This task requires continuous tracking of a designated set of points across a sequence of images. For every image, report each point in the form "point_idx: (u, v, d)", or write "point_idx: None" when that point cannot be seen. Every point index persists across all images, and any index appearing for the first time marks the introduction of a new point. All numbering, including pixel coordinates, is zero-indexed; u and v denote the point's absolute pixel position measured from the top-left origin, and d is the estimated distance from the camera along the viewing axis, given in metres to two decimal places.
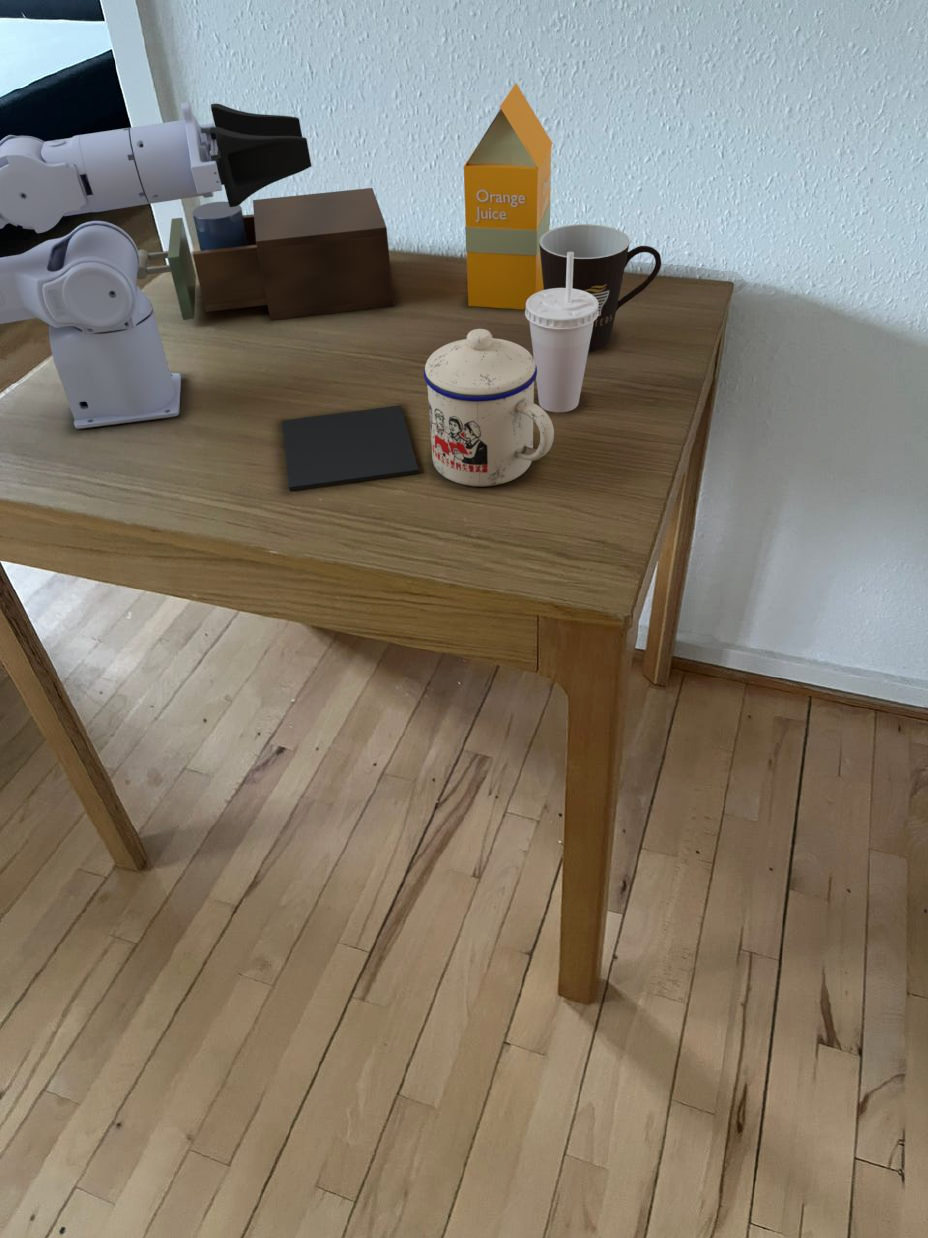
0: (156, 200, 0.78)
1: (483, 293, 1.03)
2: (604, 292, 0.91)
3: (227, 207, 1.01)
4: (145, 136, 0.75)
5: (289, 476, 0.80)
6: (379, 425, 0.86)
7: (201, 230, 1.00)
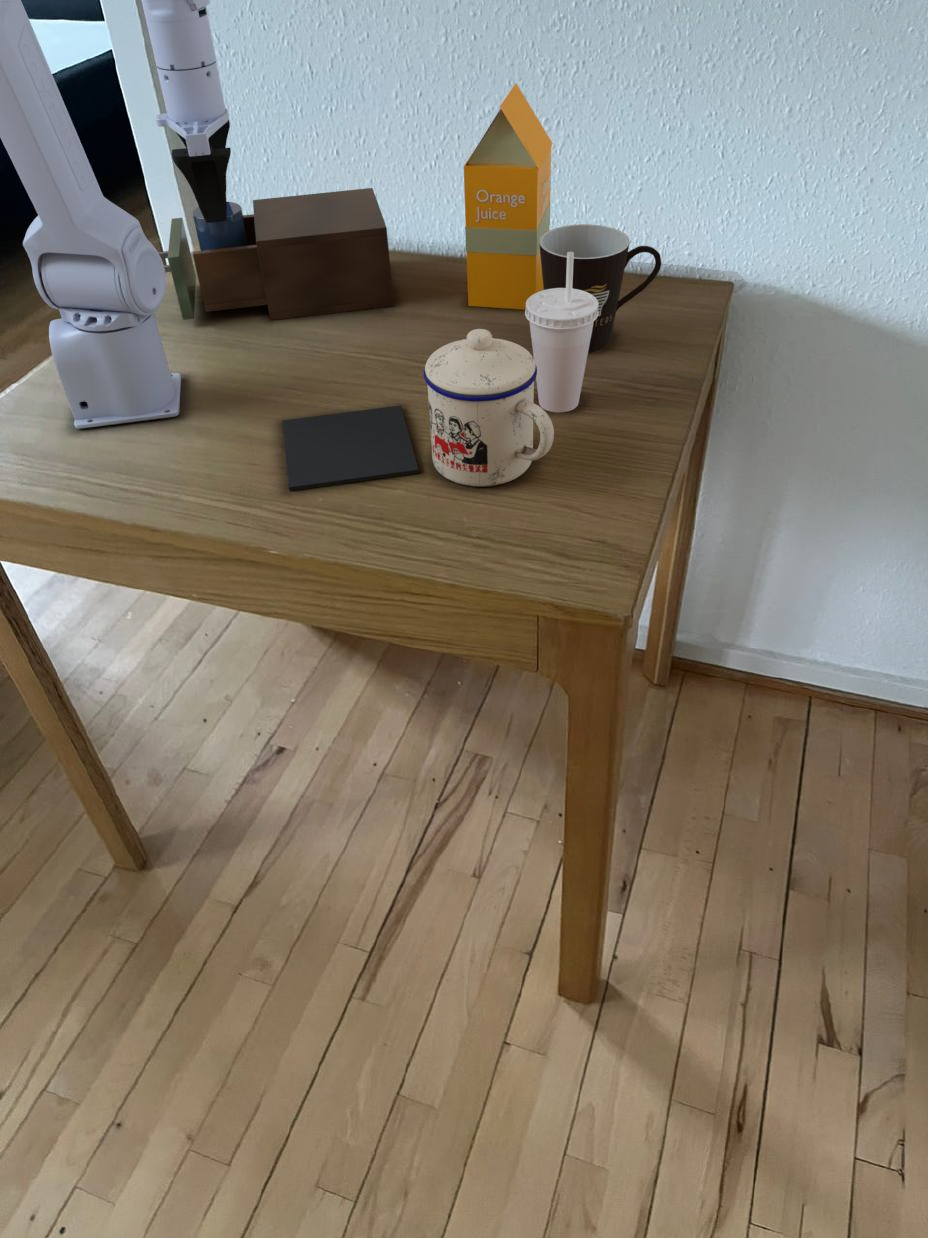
0: None
1: (483, 293, 1.03)
2: (604, 292, 0.91)
3: (227, 207, 1.01)
4: None
5: (289, 476, 0.80)
6: (379, 425, 0.86)
7: (201, 230, 1.00)
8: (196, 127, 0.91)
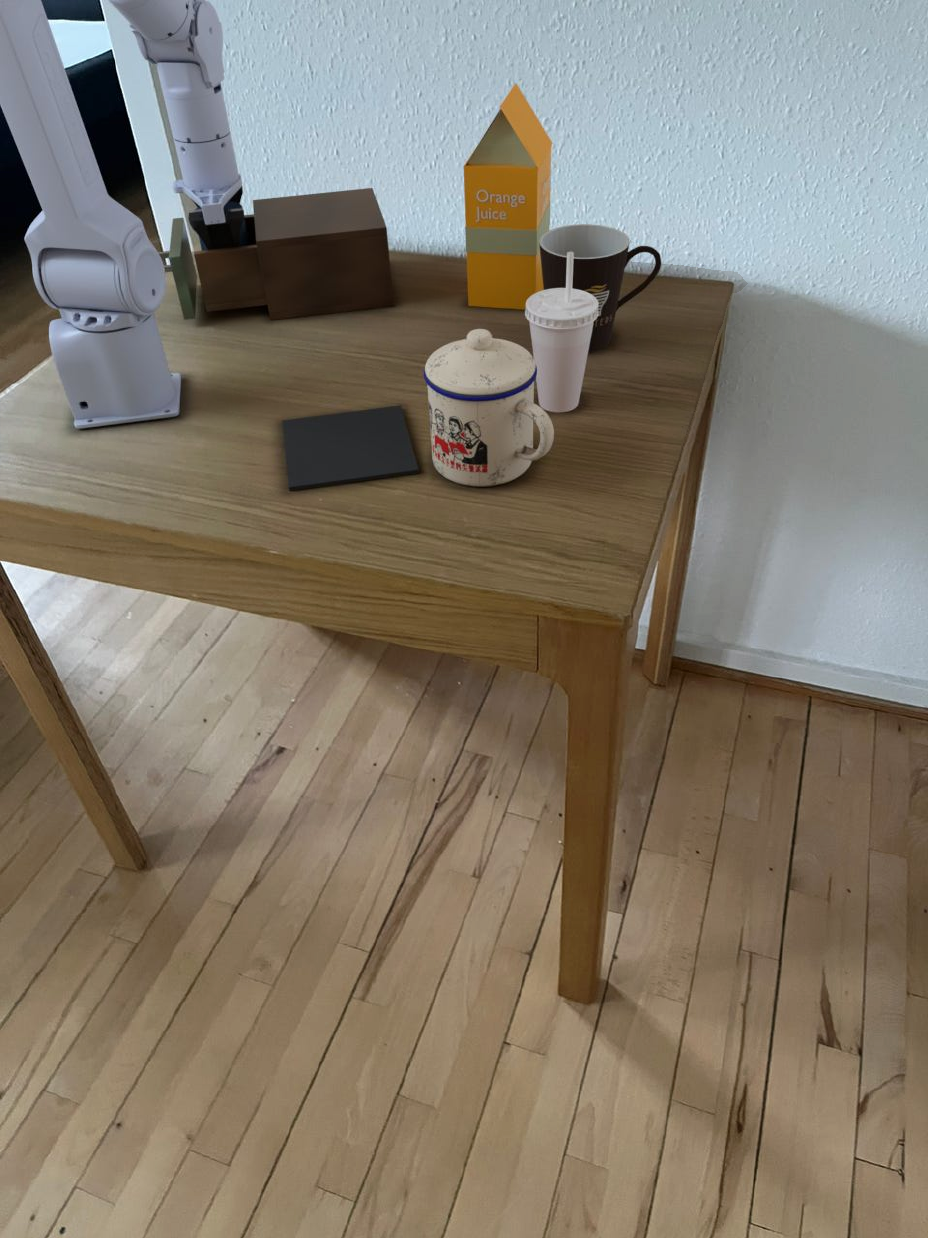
0: None
1: (483, 293, 1.03)
2: (604, 292, 0.91)
3: (228, 206, 1.02)
4: None
5: (289, 476, 0.80)
6: (379, 425, 0.86)
7: None
8: (211, 196, 0.95)
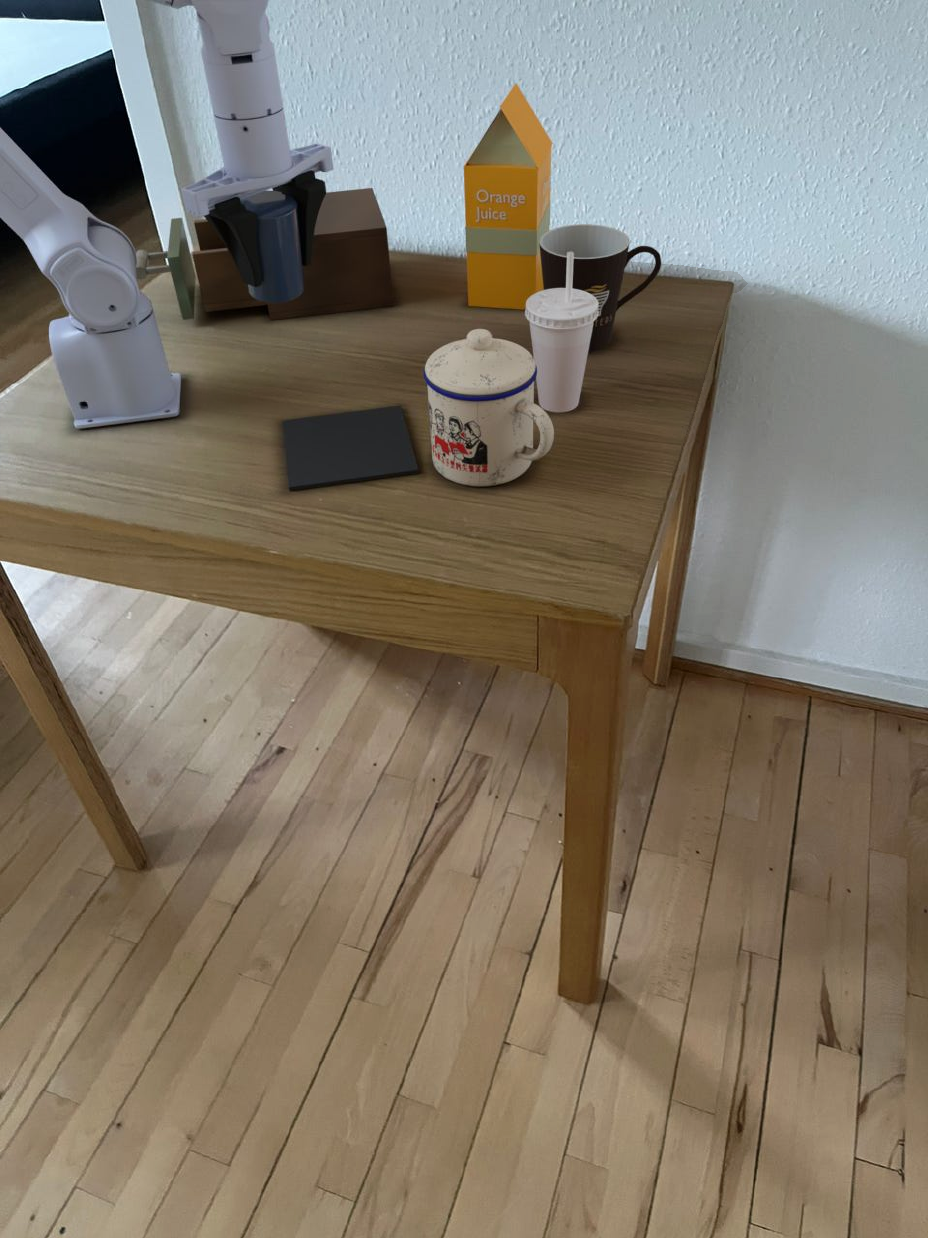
0: (282, 118, 0.78)
1: (483, 293, 1.03)
2: (604, 292, 0.91)
3: (279, 206, 0.82)
4: None
5: (289, 476, 0.80)
6: (379, 425, 0.86)
7: None
8: (210, 183, 0.78)
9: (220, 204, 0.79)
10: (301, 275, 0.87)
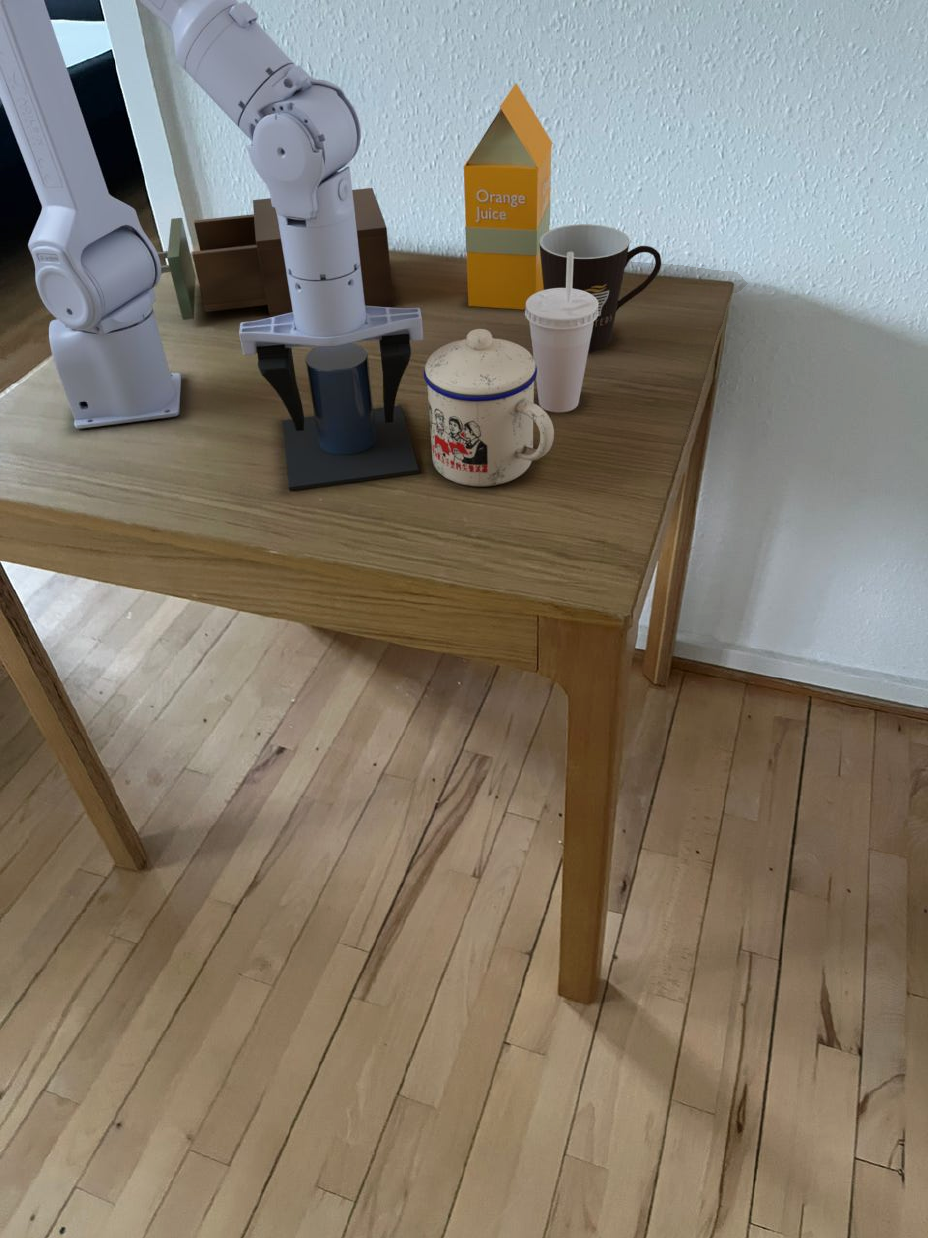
0: (345, 284, 0.72)
1: (483, 293, 1.03)
2: (604, 292, 0.91)
3: (343, 361, 0.78)
4: None
5: (289, 476, 0.80)
6: (379, 425, 0.86)
7: None
8: (268, 325, 0.76)
9: (260, 348, 0.76)
10: (362, 434, 0.82)
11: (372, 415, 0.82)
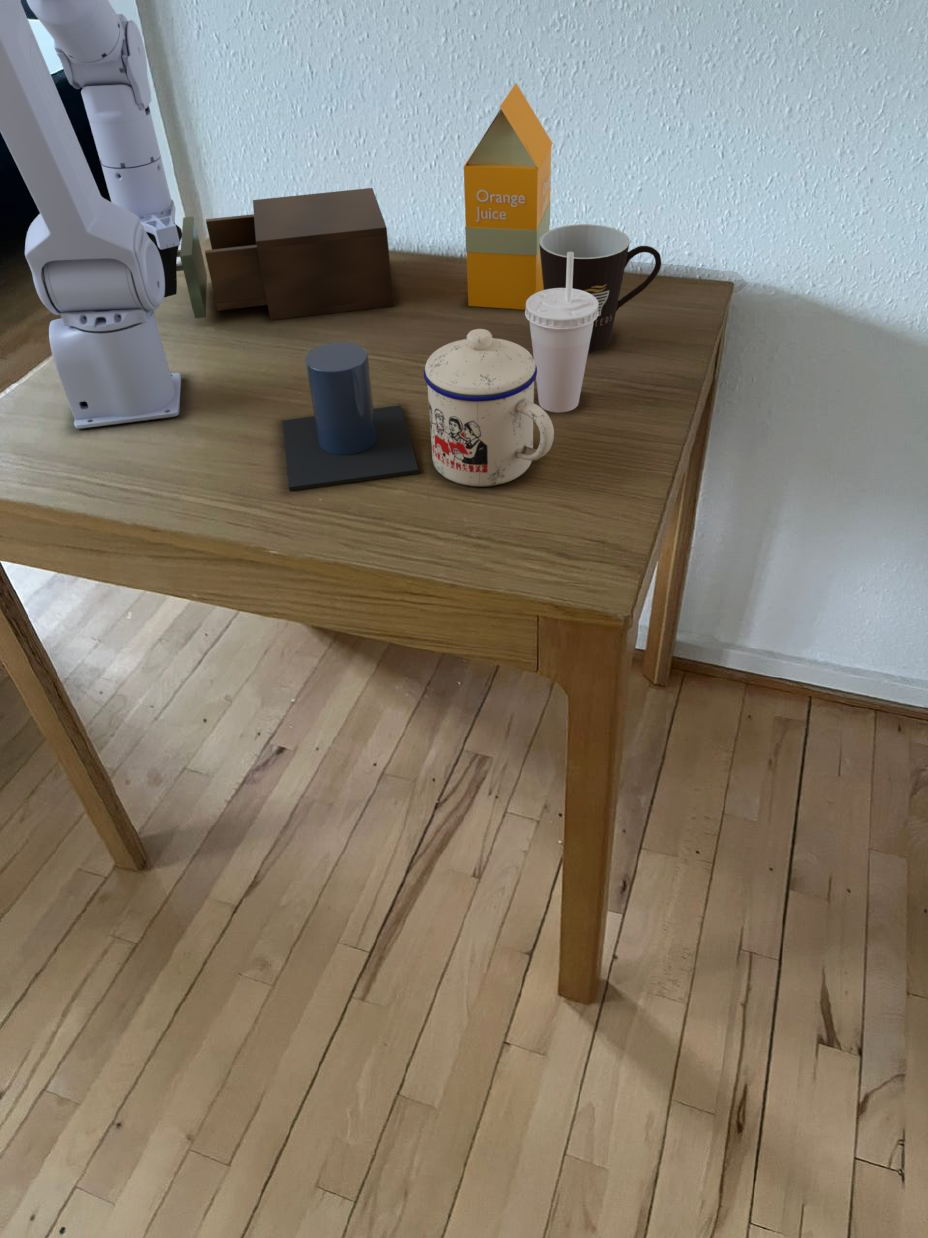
0: None
1: (483, 293, 1.03)
2: (604, 292, 0.91)
3: (343, 361, 0.78)
4: None
5: (289, 476, 0.80)
6: (379, 425, 0.86)
7: None
8: (159, 220, 0.92)
9: None
10: (362, 434, 0.82)
11: (372, 415, 0.82)
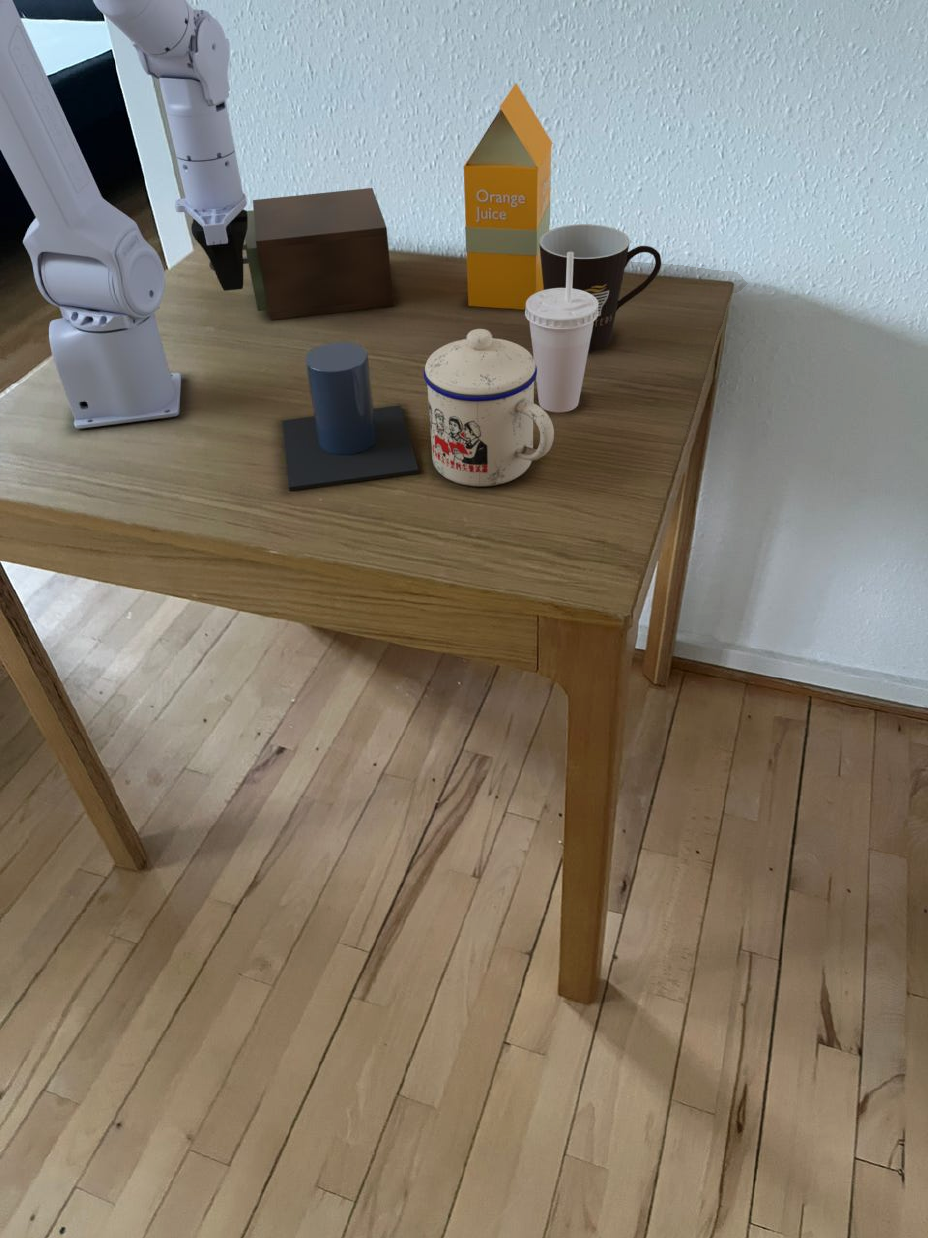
0: None
1: (483, 293, 1.03)
2: (604, 292, 0.91)
3: (343, 361, 0.78)
4: None
5: (289, 476, 0.80)
6: (379, 425, 0.86)
7: None
8: (214, 216, 0.92)
9: None
10: (362, 434, 0.82)
11: (372, 415, 0.82)
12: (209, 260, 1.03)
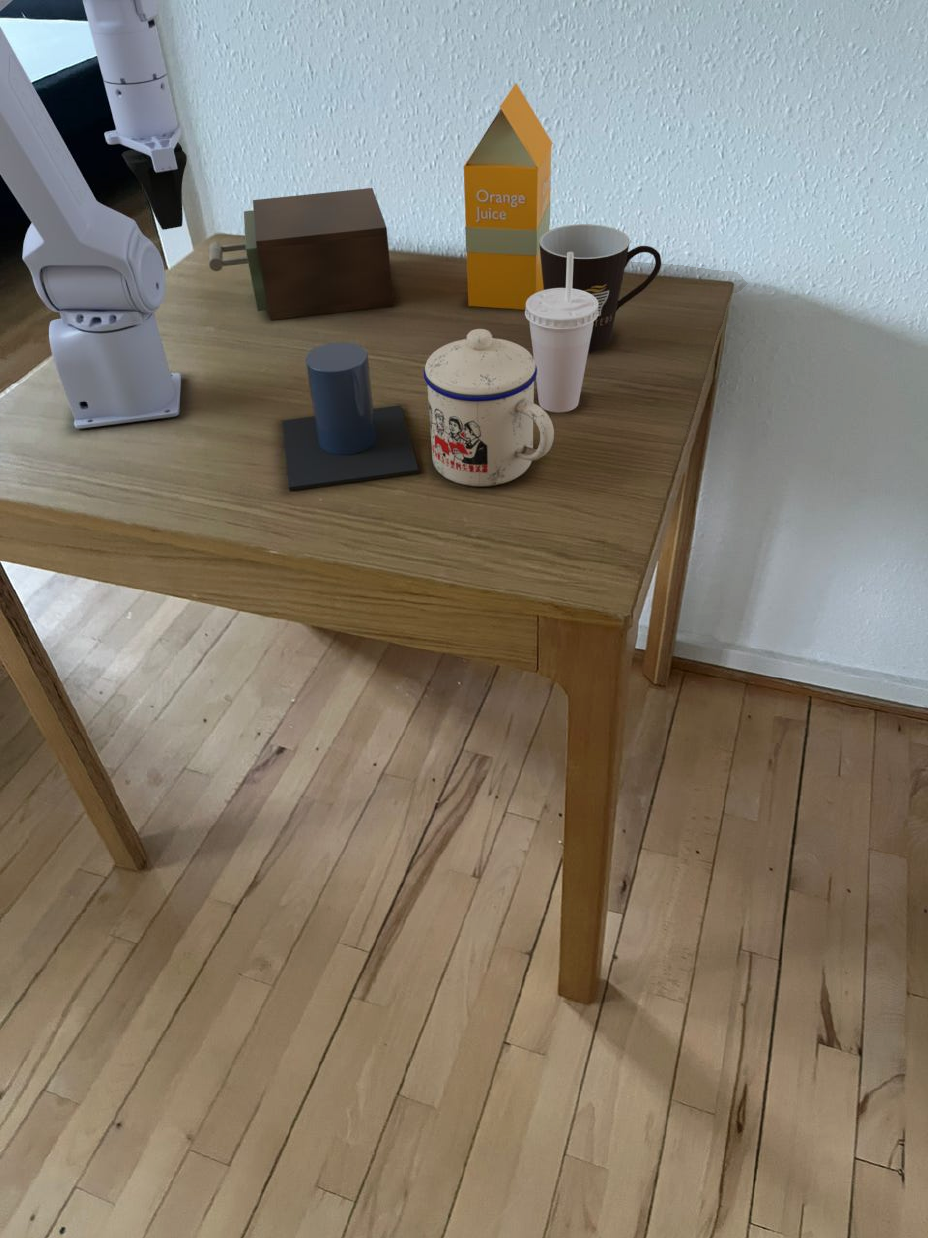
0: None
1: (483, 293, 1.03)
2: (604, 292, 0.91)
3: (343, 361, 0.78)
4: None
5: (289, 476, 0.80)
6: (379, 425, 0.86)
7: None
8: (157, 142, 0.87)
9: None
10: (362, 434, 0.82)
11: (372, 415, 0.82)
12: (209, 260, 1.03)
